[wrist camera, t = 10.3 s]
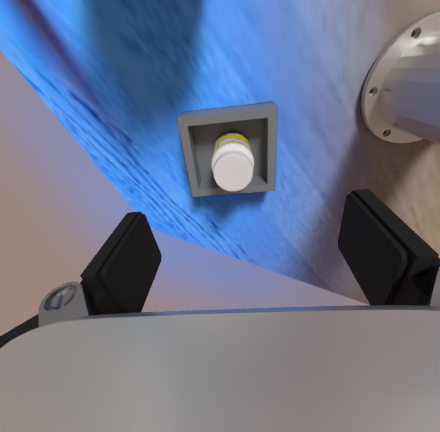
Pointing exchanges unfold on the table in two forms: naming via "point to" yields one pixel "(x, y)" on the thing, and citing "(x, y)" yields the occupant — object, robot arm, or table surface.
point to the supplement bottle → (232, 161)
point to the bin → (213, 128)
